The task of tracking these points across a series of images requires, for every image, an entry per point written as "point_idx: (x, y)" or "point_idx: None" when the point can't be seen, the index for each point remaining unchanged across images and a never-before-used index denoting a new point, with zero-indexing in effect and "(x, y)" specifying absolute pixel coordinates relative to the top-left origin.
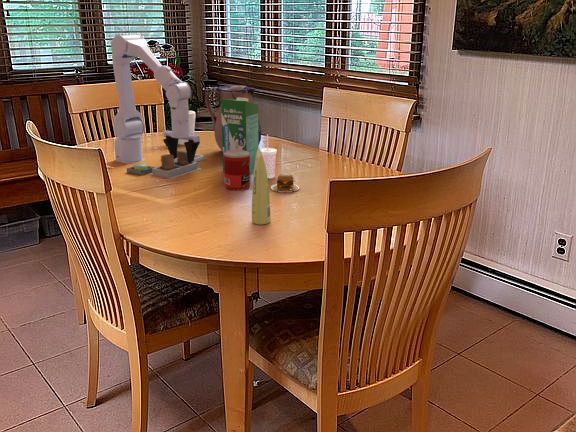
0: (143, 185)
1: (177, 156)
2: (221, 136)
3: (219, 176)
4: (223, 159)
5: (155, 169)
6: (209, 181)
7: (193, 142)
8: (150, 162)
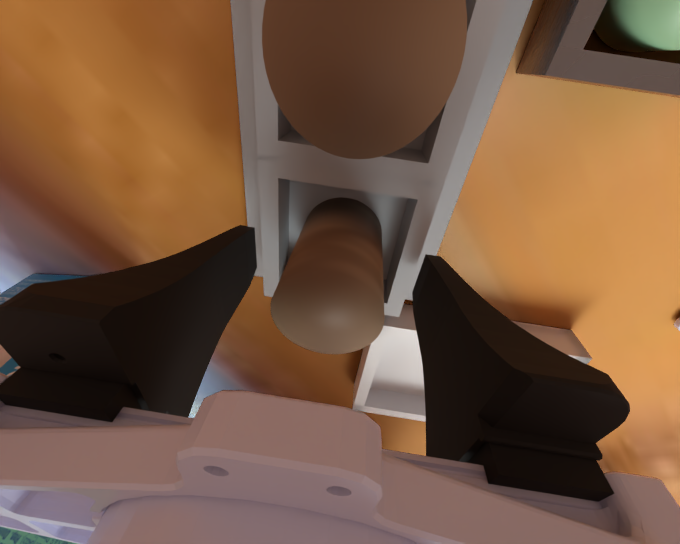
0: None
1: (360, 254)
2: None
3: (112, 224)
4: None
5: None
6: (43, 99)
7: (21, 366)
8: (646, 309)
